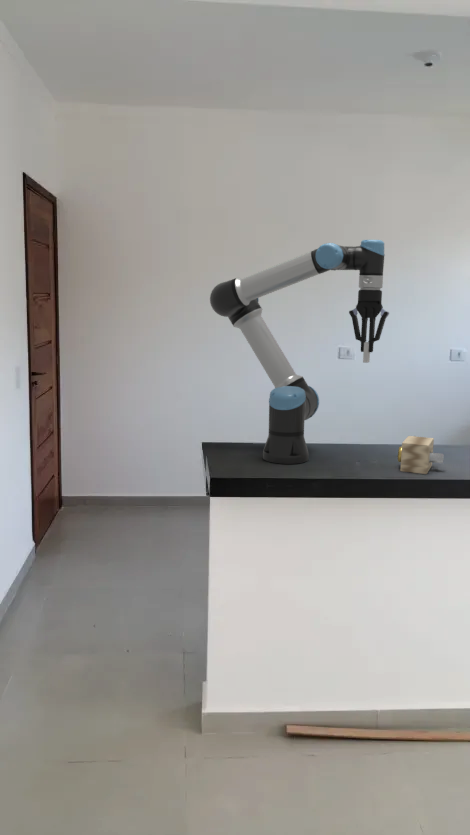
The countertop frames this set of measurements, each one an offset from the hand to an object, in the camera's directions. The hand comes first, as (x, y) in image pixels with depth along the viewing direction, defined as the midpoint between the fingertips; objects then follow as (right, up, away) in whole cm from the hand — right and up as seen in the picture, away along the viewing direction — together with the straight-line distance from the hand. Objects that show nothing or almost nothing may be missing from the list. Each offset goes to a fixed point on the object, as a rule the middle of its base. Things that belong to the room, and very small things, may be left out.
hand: (366, 362), depth 228 cm
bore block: (+15, -34, -8) cm, 38 cm away
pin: (+16, -33, -8) cm, 37 cm away
